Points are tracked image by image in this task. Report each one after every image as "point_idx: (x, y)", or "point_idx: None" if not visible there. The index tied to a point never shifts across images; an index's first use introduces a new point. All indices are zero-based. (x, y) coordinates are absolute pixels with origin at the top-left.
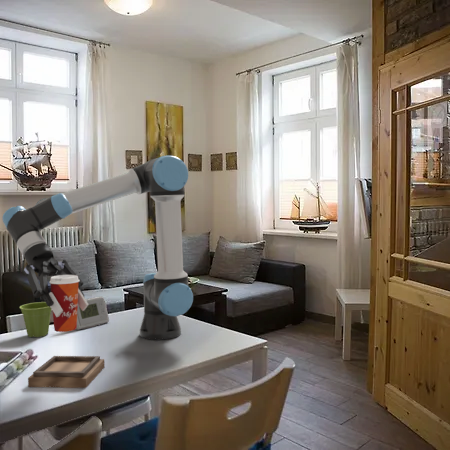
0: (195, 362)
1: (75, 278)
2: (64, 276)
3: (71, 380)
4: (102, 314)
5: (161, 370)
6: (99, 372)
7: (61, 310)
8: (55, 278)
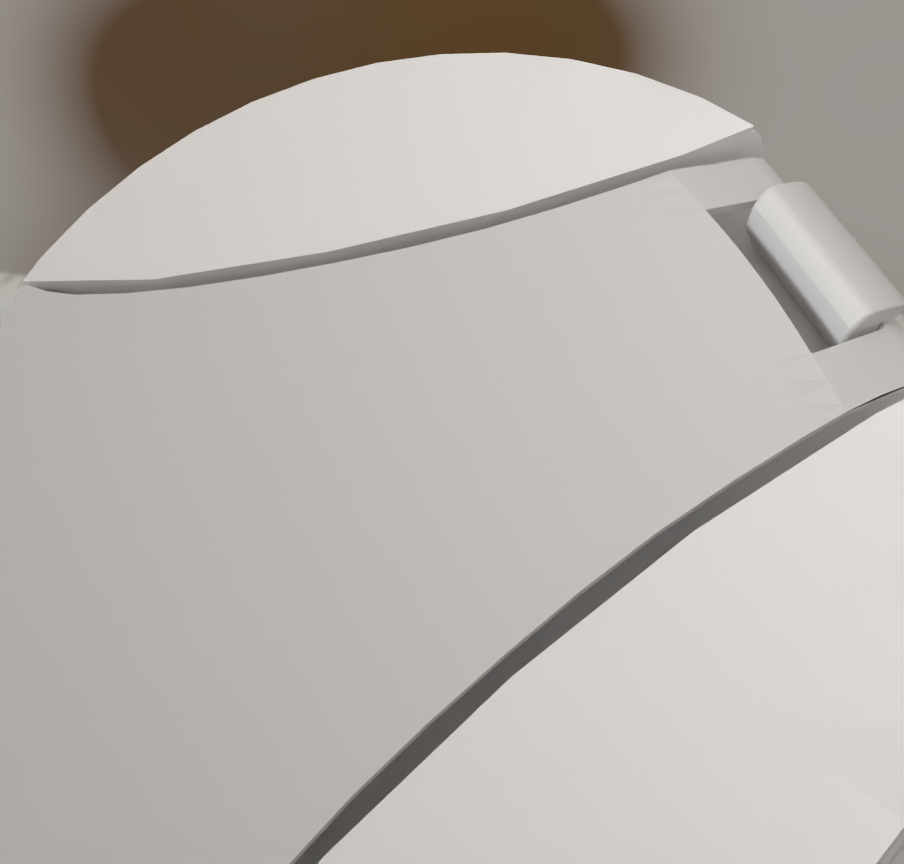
0: (2, 290)
1: (315, 101)
2: (365, 474)
3: None
4: None
5: None
6: None
7: None
8: (877, 399)
